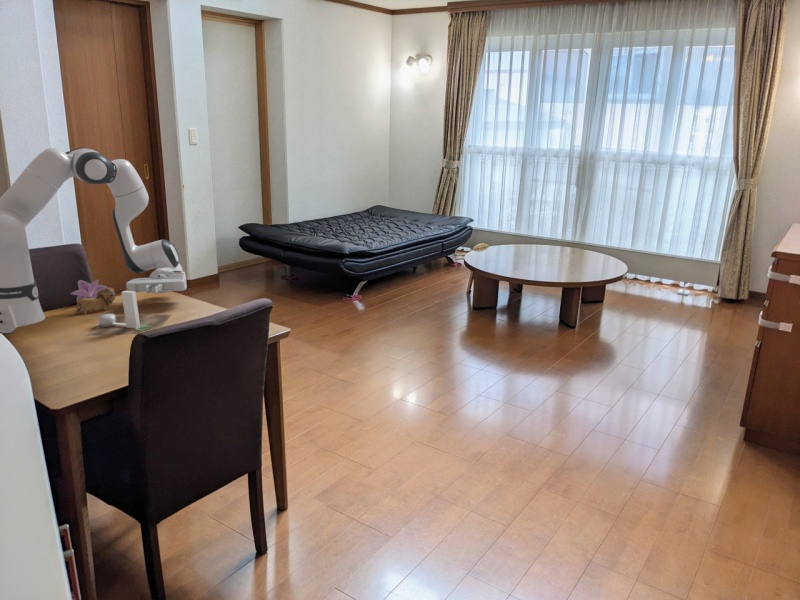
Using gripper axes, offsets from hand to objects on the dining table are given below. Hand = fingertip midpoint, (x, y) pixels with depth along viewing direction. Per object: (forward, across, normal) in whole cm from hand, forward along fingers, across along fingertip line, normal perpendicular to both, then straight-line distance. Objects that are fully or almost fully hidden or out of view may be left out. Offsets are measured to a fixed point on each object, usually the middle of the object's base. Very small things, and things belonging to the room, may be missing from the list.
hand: (150, 290), depth 208 cm
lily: (-20, -29, +9) cm, 36 cm away
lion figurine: (-4, -21, +9) cm, 23 cm away
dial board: (+14, -3, +9) cm, 17 cm away
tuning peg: (+15, -6, +7) cm, 18 cm away
